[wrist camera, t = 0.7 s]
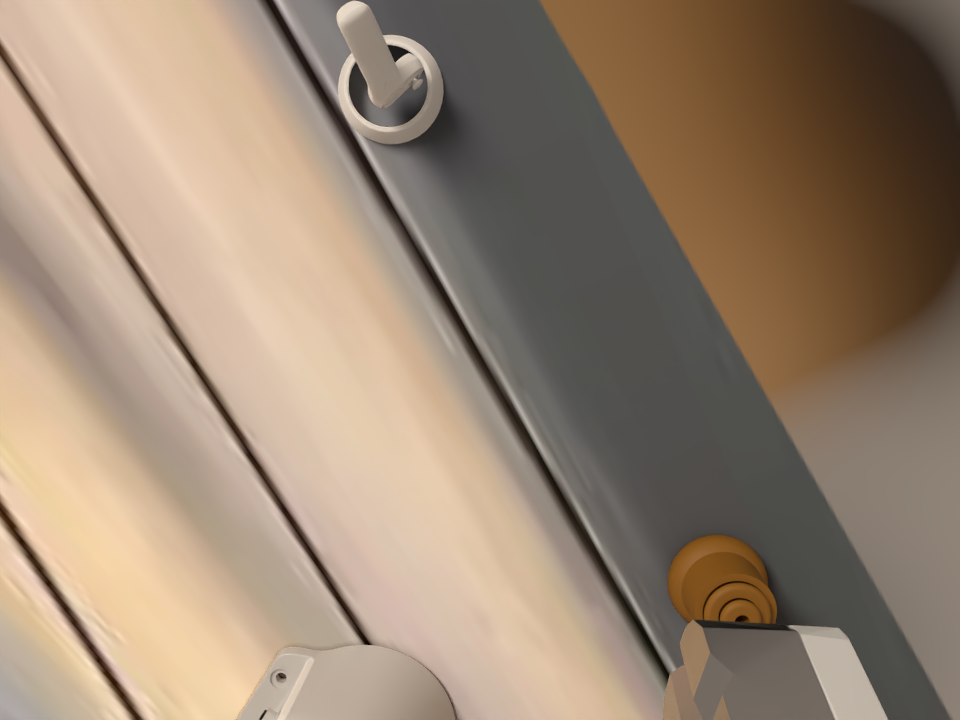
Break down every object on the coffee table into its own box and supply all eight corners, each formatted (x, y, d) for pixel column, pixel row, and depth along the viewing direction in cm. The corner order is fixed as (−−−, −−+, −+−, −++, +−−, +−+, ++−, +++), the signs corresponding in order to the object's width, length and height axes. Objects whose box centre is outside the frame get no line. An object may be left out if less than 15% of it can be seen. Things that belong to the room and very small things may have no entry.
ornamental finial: (670, 628, 66) (659, 537, 65) (766, 616, 66) (756, 524, 65) (693, 680, 58) (681, 577, 57) (802, 666, 58) (792, 563, 57)
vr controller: (350, -74, 55) (413, -35, 51) (413, 62, 65) (470, 102, 62) (263, -1, 54) (321, 44, 51) (341, 125, 64) (394, 169, 61)
